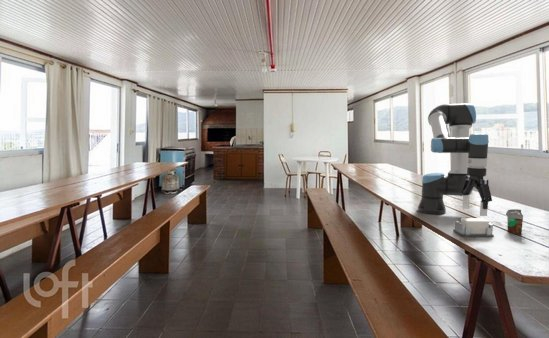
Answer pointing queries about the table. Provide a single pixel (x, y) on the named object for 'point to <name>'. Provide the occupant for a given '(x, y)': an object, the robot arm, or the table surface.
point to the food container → (514, 221)
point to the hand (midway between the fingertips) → (474, 211)
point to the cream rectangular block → (476, 225)
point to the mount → (465, 232)
